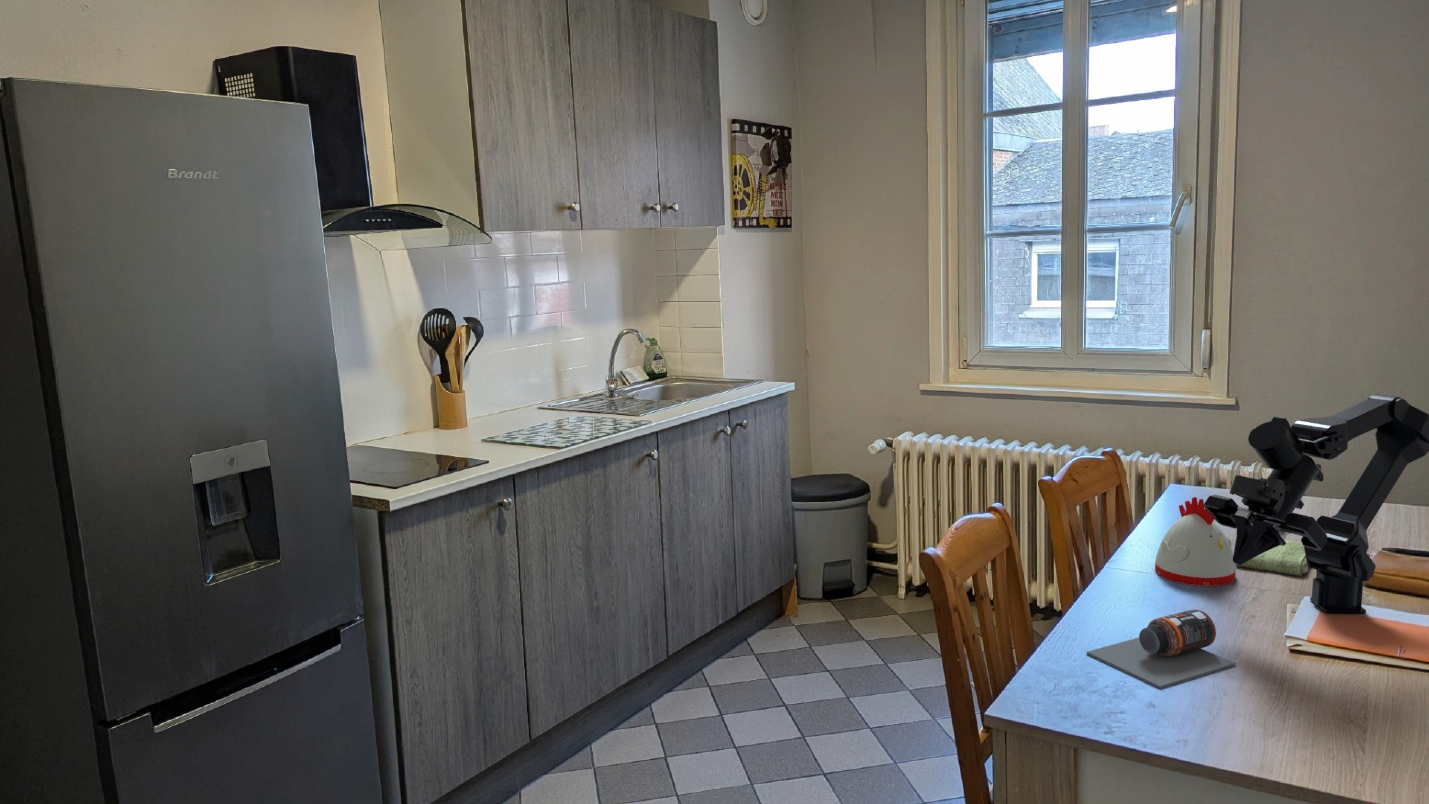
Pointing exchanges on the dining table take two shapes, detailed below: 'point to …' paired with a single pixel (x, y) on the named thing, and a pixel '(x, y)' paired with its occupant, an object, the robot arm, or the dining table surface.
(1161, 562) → the kitchen timer
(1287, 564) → the washcloth
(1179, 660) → the mat
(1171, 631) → the supplement bottle
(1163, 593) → the dining table surface
